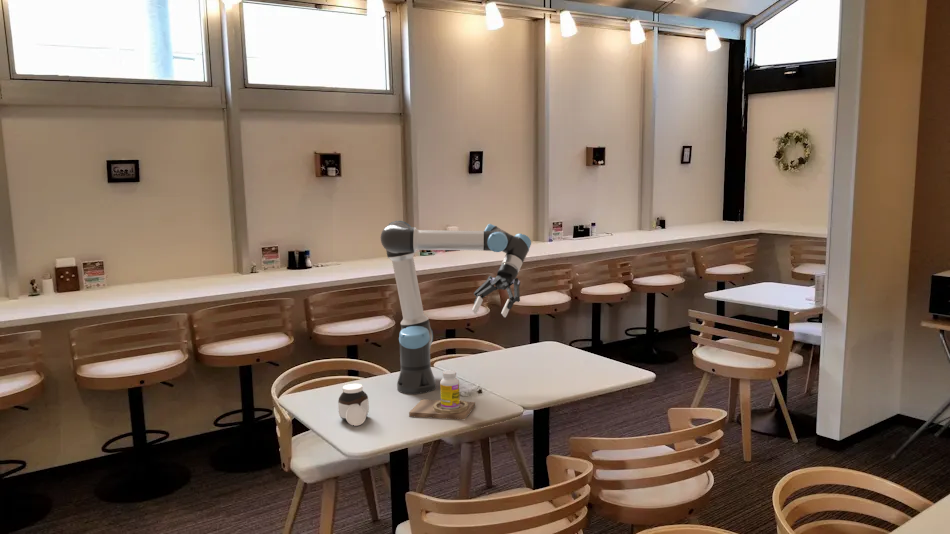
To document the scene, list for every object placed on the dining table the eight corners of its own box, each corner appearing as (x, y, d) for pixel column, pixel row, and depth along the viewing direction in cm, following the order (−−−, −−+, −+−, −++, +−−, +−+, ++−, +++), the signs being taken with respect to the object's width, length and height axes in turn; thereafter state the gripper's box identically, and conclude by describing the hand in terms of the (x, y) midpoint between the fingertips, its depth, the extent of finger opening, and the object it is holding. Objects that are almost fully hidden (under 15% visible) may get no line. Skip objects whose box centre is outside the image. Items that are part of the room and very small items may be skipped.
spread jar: (357, 412, 259) (356, 381, 257) (379, 418, 252) (378, 386, 250) (331, 422, 250) (329, 389, 248) (353, 429, 243) (351, 395, 241)
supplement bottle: (453, 411, 252) (451, 375, 250) (437, 408, 256) (435, 373, 254) (463, 405, 258) (462, 370, 256) (448, 403, 261) (446, 368, 259)
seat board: (409, 416, 253) (408, 409, 253) (422, 403, 267) (421, 396, 266) (464, 419, 248) (464, 412, 248) (475, 406, 262) (474, 399, 261)
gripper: (540, 276, 281) (520, 322, 271) (487, 272, 296) (466, 315, 286) (532, 264, 276) (511, 311, 266) (479, 261, 291) (457, 304, 281)
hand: (488, 313), depth 276 cm, fingers open, 13 cm apart
